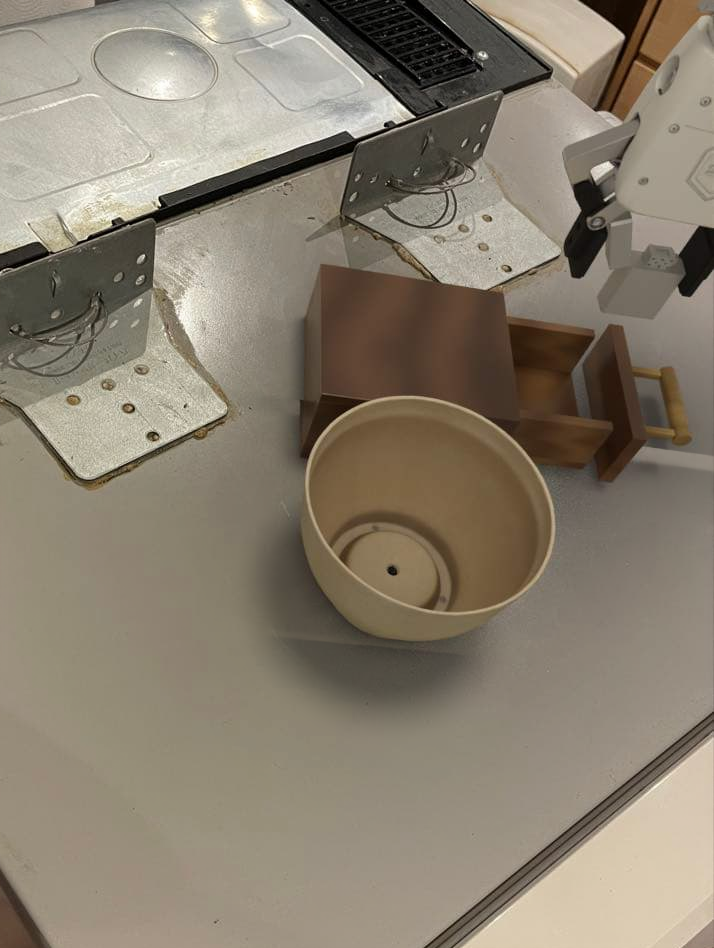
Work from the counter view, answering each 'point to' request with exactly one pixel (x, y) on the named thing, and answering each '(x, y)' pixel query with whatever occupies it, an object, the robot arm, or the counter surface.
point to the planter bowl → (423, 518)
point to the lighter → (637, 274)
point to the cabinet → (403, 347)
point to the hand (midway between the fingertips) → (628, 271)
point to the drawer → (609, 393)
